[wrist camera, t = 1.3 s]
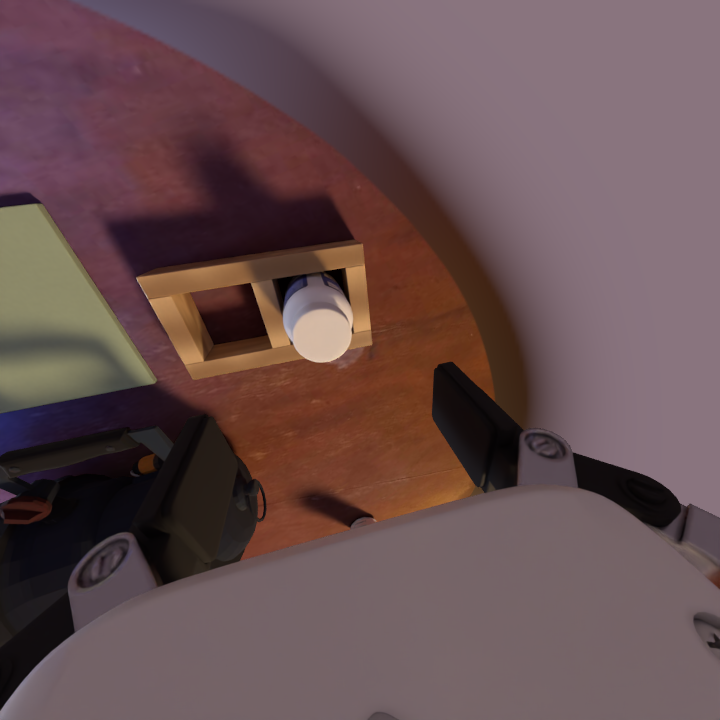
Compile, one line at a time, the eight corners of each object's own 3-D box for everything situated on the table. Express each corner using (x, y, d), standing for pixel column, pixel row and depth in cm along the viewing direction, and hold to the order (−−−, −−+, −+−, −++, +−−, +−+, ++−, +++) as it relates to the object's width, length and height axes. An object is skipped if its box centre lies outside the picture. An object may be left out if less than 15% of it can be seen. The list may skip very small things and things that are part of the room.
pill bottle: (291, 326, 25) (288, 375, 18) (280, 271, 23) (271, 302, 15) (344, 320, 26) (362, 365, 19) (340, 266, 23) (359, 293, 16)
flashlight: (128, 525, 34) (-28, 426, 24) (280, 465, 37) (202, 350, 26) (49, 697, 22) (-350, 657, 11) (282, 591, 25) (137, 474, 14)
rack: (156, 268, 21) (134, 277, 18) (355, 239, 23) (362, 243, 20) (204, 362, 25) (192, 380, 23) (365, 331, 27) (372, 345, 25)
